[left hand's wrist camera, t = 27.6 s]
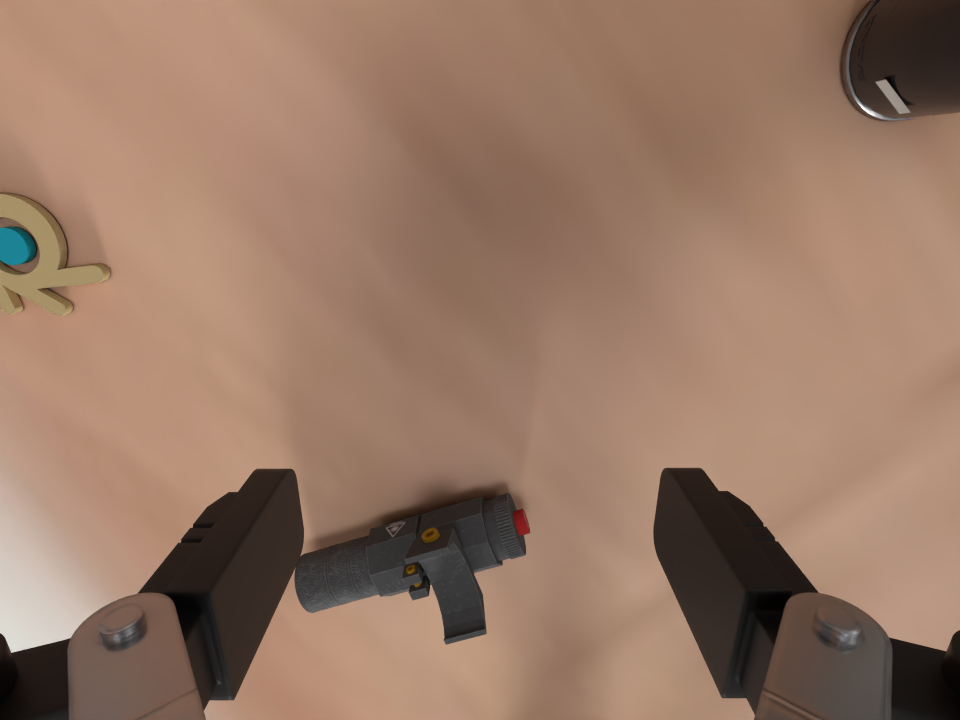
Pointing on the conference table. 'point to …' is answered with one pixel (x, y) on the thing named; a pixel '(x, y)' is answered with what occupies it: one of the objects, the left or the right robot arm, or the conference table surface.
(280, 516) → the left robot arm
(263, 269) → the conference table surface
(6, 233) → the logo
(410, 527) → the laser sight
